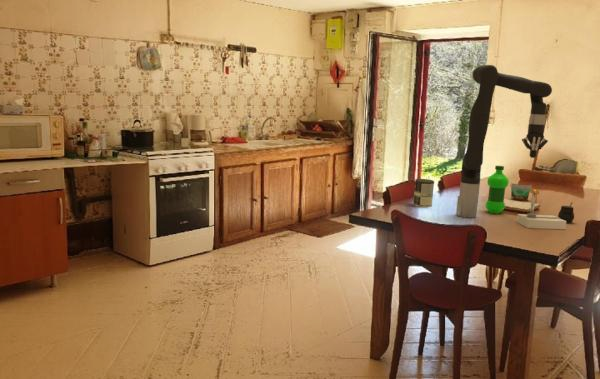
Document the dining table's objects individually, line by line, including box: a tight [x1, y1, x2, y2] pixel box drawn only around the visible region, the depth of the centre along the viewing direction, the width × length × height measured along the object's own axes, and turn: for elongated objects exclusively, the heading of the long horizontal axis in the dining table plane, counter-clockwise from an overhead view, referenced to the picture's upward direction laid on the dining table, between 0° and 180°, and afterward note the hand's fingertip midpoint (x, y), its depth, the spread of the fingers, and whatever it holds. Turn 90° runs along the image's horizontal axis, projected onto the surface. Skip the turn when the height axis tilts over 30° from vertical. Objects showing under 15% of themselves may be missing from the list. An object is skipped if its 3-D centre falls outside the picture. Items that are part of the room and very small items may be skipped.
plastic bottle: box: [485, 165, 510, 215], centre depth 275 cm, size 10×10×25 cm
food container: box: [510, 182, 533, 202], centre depth 315 cm, size 12×6×10 cm, turn 76°
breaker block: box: [516, 213, 567, 230], centre depth 250 cm, size 18×12×4 cm, turn 91°
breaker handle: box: [526, 188, 540, 217], centre depth 249 cm, size 3×4×13 cm
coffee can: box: [412, 178, 435, 208], centre depth 286 cm, size 10×10×14 cm
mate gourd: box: [557, 201, 575, 224], centre depth 261 cm, size 7×8×10 cm
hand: (532, 157), depth 264 cm, fingers closed
